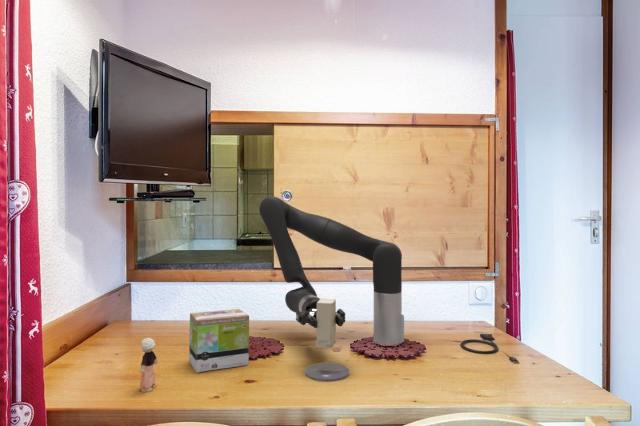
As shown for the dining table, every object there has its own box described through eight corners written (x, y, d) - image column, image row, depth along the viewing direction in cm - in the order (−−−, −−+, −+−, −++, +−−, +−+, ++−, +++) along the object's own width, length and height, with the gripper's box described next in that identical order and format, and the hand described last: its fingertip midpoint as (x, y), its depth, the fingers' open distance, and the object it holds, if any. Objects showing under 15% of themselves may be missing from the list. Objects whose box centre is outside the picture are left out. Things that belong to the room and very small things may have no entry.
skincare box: (332, 349, 122) (332, 303, 122) (315, 347, 123) (316, 302, 122) (336, 342, 128) (336, 298, 128) (320, 341, 129) (320, 297, 129)
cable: (472, 364, 134) (472, 359, 134) (452, 337, 162) (452, 332, 162) (520, 365, 133) (520, 360, 133) (491, 337, 161) (491, 333, 161)
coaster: (341, 363, 133) (341, 361, 133) (355, 378, 121) (355, 375, 121) (300, 367, 130) (300, 364, 129) (311, 383, 118) (311, 380, 118)
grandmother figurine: (144, 383, 118) (144, 334, 118) (159, 383, 118) (159, 333, 118) (135, 395, 110) (134, 343, 110) (151, 395, 110) (151, 342, 110)
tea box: (196, 374, 124) (196, 319, 124) (188, 363, 133) (188, 312, 133) (249, 365, 131) (249, 314, 131) (239, 355, 140) (238, 307, 140)
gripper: (289, 297, 137) (302, 310, 121) (336, 295, 141) (354, 308, 125) (289, 322, 137) (302, 339, 121) (335, 320, 141) (354, 335, 125)
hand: (328, 323), depth 123 cm, fingers closed on skincare box, 6 cm apart
